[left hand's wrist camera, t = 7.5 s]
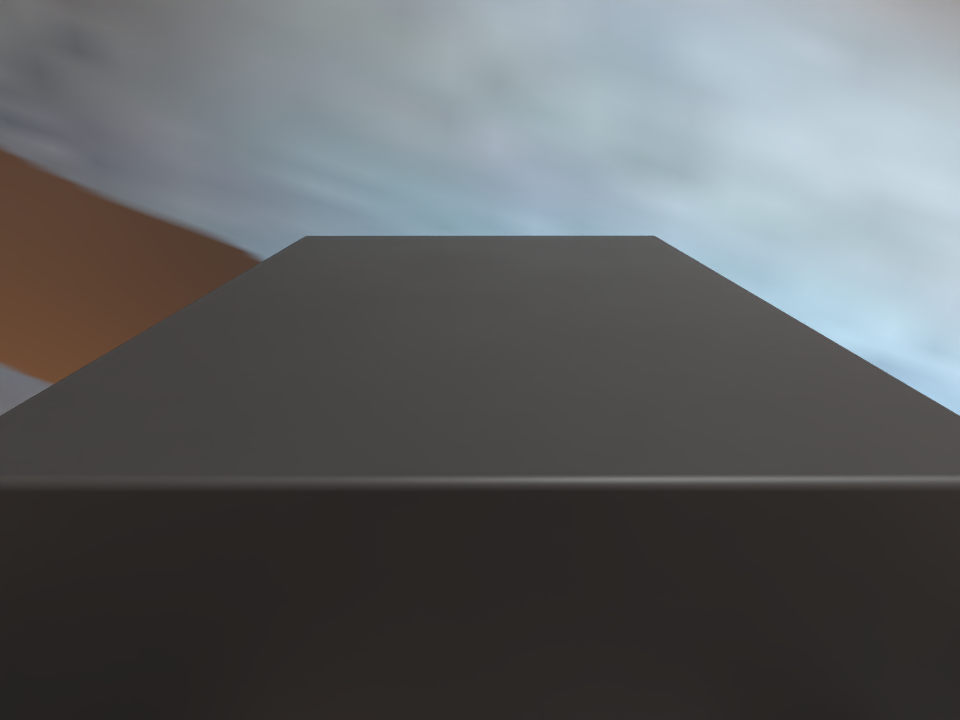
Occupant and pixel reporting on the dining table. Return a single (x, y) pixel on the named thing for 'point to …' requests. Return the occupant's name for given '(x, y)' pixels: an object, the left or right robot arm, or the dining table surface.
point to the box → (480, 502)
